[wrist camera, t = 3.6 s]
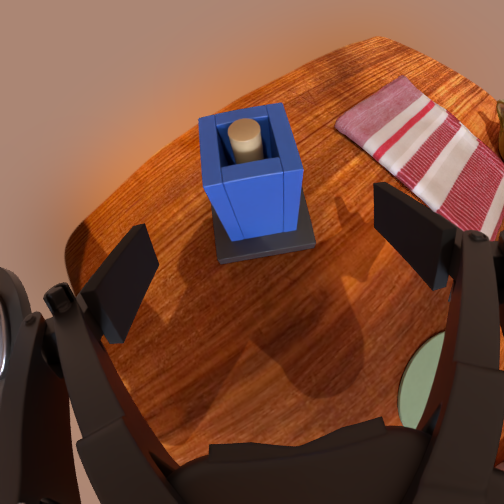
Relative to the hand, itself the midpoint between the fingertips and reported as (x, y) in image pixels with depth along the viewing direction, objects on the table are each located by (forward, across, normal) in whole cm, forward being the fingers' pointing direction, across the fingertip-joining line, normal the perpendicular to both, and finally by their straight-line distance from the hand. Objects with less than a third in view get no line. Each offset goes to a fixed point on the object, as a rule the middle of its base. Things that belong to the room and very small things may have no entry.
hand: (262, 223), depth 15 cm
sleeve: (+11, 0, -3) cm, 12 cm away
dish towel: (+15, +24, -1) cm, 28 cm away
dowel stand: (+12, 0, -4) cm, 13 cm away
